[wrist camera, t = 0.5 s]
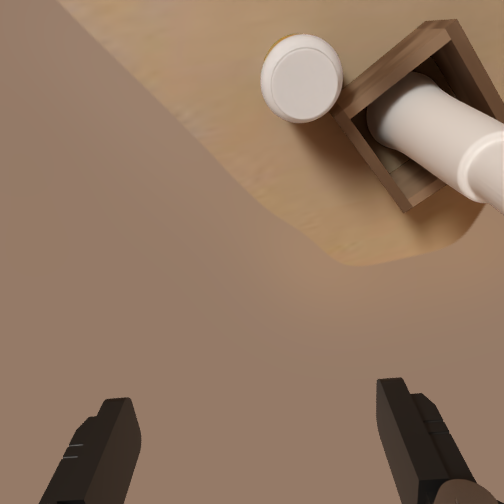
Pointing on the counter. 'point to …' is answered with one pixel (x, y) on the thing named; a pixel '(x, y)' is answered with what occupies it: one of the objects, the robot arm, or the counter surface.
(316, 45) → the supplement bottle
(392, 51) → the holder
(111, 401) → the robot arm
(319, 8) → the counter surface
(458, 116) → the cosmetic bottle
